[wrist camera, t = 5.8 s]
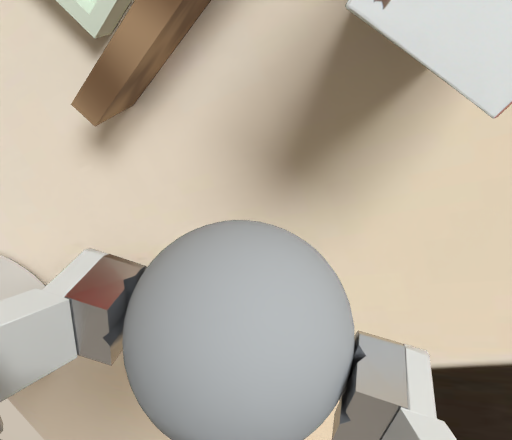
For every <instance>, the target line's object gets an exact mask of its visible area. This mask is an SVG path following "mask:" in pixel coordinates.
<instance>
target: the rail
mask: <svg viewBox="0 0 512 440" xmlns="http://www.w3.org/2000/svg"><path fill="white" fill-rule="evenodd" d="M210 1H211V0H135V1H134V3H133V5H132V6H131V8H130V9H129V11H128V13H127V14H126V16H125V18H124V19H123V21H122V22H121V24H120V26H119V27H118V29H117V31H116V32H115V34H114V35H113V37H112V39H111V40H110V42H109V43H108V45H107V47H106V48H105V50H104V52H103V53H102V55H101V56H100V58H99V60H98V61H97V63H96V65H95V66H94V68H93V69H92V71H91V73H90V74H89V76H88V78H87V79H86V81H85V82H84V84H83V86H82V87H81V89H80V91H79V92H78V94H77V95H76V97H75V99H74V100H73V102H72V104H71V105H72V106H73V107H75V108H76V109H77V110H78V111H79V112H80V113H81V114H82V115H83V116H84V117H85V118H86V119H87V120H89V121H90V122H91V123H92V124H93V125H94V126H97V125H99V124H101V123H102V122H104V121H106V120H108V119H110V118H111V117H113V116H115V115H117V114H118V113H120V112H122V111H124V110H126V109H127V108H129V107H131V106H133V105H134V104H135V102H136V101H137V100H138V98H139V97H140V96H141V94H142V93H143V91H144V90H145V89H146V87H147V86H148V85H149V83H150V82H151V81H152V79H153V78H154V77H155V75H156V74H157V72H158V71H159V70H160V68H161V67H162V66H163V64H164V63H165V62H166V60H167V59H168V58H169V56H170V55H171V54H172V52H173V51H174V49H175V48H176V47H177V45H178V44H179V43H180V41H181V40H182V39H183V37H184V36H185V35H186V33H187V32H188V30H189V29H190V28H191V26H192V25H193V24H194V22H195V21H196V20H197V18H198V17H199V16H200V14H201V13H202V12H203V10H204V9H205V7H206V6H207V5H208V3H209V2H210Z"/></svg>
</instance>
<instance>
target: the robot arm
mask: <svg viewBox="0 0 512 440" xmlns="http://www.w3.org/2000/svg"><path fill="white" fill-rule="evenodd" d="M146 268H147V267H146V266H144V265H141V264H138V263H135V262H132V261H129V260H126V259H123V258H120V257H117V256H114V255H111V254H107V253H104V252H101V251H98V250H95V249H92V248H89V249H86V250H84V251H83V252H82V253H80V254H79V255H78V256H77V257H76V258H75V259H74V260H73V261H72V262H71V263H70V264H69V265H68V266H67V267H66V268H65V269H63V270H62V271H61V272H60V273H59V274H58V275H57V276H56V277H55V278H54V279H53V280H52V281H51V282H50V283H49V284H48V285H47V286H45V285H44V284H43V283H42V282H41V281H40V280H39V279H38V278H37V277H35V276H34V275H33V274H32V273H31V272H29V271H28V270H27V269H25V268H24V267H22V266H21V265H19V264H17V263H16V262H14V261H12V260H10V259H8V258H6V257H3V256H1V255H0V402H1V401H3V400H5V399H7V398H8V397H10V396H12V395H14V394H15V393H17V392H19V391H20V390H22V389H24V388H25V387H27V386H29V385H31V384H32V383H34V382H36V381H37V380H39V379H41V378H43V377H44V376H46V375H48V374H49V373H51V372H53V371H55V370H56V369H58V368H60V367H61V366H63V365H65V364H67V363H68V362H70V361H72V360H73V359H75V358H77V355H79V356H83V357H86V358H89V359H92V360H95V361H98V362H102V363H105V364H108V365H111V366H112V364H113V363H114V361H115V360H116V358H117V357H118V356H119V354H120V353H121V351H122V350H123V344H122V340H123V328H124V319H125V315H126V311H127V307H128V304H129V301H130V298H131V295H132V293H133V291H134V288H135V286H136V285H137V283H138V281H139V279H140V277H141V276H142V274H143V273H144V271H145V270H146ZM339 400H340V402H339V404H338V406H337V409H336V411H335V414H334V423H333V433H332V440H457V439H456V438H455V436H454V435H453V433H452V432H451V431H450V429H449V428H448V426H447V425H446V423H445V422H444V421H441V420H438V419H437V416H436V408H435V399H434V390H433V382H432V373H431V365H430V356H429V353H428V352H427V351H426V350H423V349H420V348H416V347H413V346H409V345H406V344H402V343H399V342H396V341H392V340H389V339H385V338H382V337H379V336H375V335H372V334H368V333H365V332H362V331H357V333H356V334H355V336H354V355H353V361H352V366H351V372H350V375H349V377H348V380H347V383H346V386H345V388H344V391H343V393H342V395H341V397H340V399H339ZM2 431H3V422H2V419H1V417H0V433H1V432H2ZM0 440H1V439H0Z"/></svg>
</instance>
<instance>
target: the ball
mask: <svg viewBox="0 0 512 440" xmlns="http://www.w3.org/2000/svg"><path fill="white" fill-rule="evenodd" d="M122 344H123V355H124V365H125V369H126V372H127V376H128V380H129V383H130V386H131V388H132V391H133V393H134V395H135V397H136V399H137V401H138V403H139V405H140V406H141V408H142V409H143V411H144V412H145V413H146V415H147V416H148V417H149V419H150V420H151V421H152V422H153V424H154V425H155V426H156V427H157V428H158V429H159V430H160V431H161V432H162V433H164V434H165V435H166V436H167V437H169V438H170V439H171V440H304V439H305V438H307V437H308V436H309V435H310V434H311V433H312V432H314V431H315V430H316V429H317V428H318V427H319V426H320V425H321V424H322V423H323V422H324V420H325V419H326V418H327V417H328V416H329V414H330V413H331V412H332V410H333V409H334V407H335V406H336V404H337V402H338V400H339V399H340V397H341V395H342V393H343V391H344V388H345V386H346V383H347V380H348V377H349V375H350V372H351V366H352V361H353V355H354V323H353V318H352V313H351V308H350V303H349V301H348V298H347V296H346V293H345V290H344V288H343V286H342V284H341V282H340V280H339V278H338V276H337V275H336V273H335V272H334V270H333V269H332V268H331V266H330V265H329V264H328V262H327V261H326V260H325V258H324V257H323V256H322V255H321V254H320V253H319V252H318V251H317V250H316V249H314V248H313V247H312V246H311V245H309V244H308V243H307V242H306V241H304V240H302V239H301V238H299V237H298V236H296V235H295V234H293V233H291V232H289V231H287V230H285V229H282V228H279V227H277V226H274V225H270V224H266V223H262V222H256V221H249V220H231V221H222V222H217V223H213V224H209V225H205V226H203V227H200V228H197V229H195V230H193V231H191V232H189V233H186V234H185V235H183V236H181V237H180V238H178V239H176V240H175V241H174V242H172V243H171V244H170V245H168V246H167V247H166V248H165V249H164V250H162V251H161V252H160V253H159V254H158V255H157V257H156V258H155V259H154V260H153V261H152V262H151V263H150V265H149V266H148V267H147V268H146V270H145V271H144V273H143V274H142V276H141V277H140V279H139V281H138V283H137V285H136V286H135V288H134V291H133V293H132V295H131V298H130V301H129V304H128V307H127V311H126V315H125V319H124V328H123V340H122Z"/></svg>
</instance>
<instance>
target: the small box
mask: <svg viewBox="0 0 512 440" xmlns="http://www.w3.org/2000/svg"><path fill="white" fill-rule="evenodd" d="M345 7H346V9H347V10H349V11H350V12H352V13H353V14H354V15H356V16H357V17H359V18H360V19H361V20H363V21H364V22H365V23H367V24H368V25H370V26H371V27H372V28H374V29H375V30H376V31H378V32H379V33H380V34H382V35H383V36H385V37H386V38H387V39H389V40H390V41H391V42H393V43H394V44H395V45H397V46H398V47H399V48H401V49H402V50H403V51H405V52H406V53H407V54H409V55H410V56H411V57H413V58H414V59H415V60H417V61H418V62H419V63H421V64H422V65H423V66H425V67H426V68H427V69H429V70H430V71H431V72H433V73H434V74H435V75H437V76H438V77H439V78H441V79H442V80H443V81H445V82H446V83H447V84H449V85H450V86H451V87H453V88H454V89H455V90H457V91H458V92H459V93H461V94H462V95H463V96H464V97H466V98H467V99H468V100H470V101H471V102H472V103H474V104H475V105H476V106H477V107H479V108H480V109H481V110H483V111H484V112H485V113H486V114H488V115H489V116H490V117H491V118H496V117H498V116H499V115H500V114H501V113H502V112H503V111H504V110H505V109H506V108H508V107H509V106H510V105H511V104H512V0H348V1H347V2H346V5H345Z"/></svg>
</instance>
